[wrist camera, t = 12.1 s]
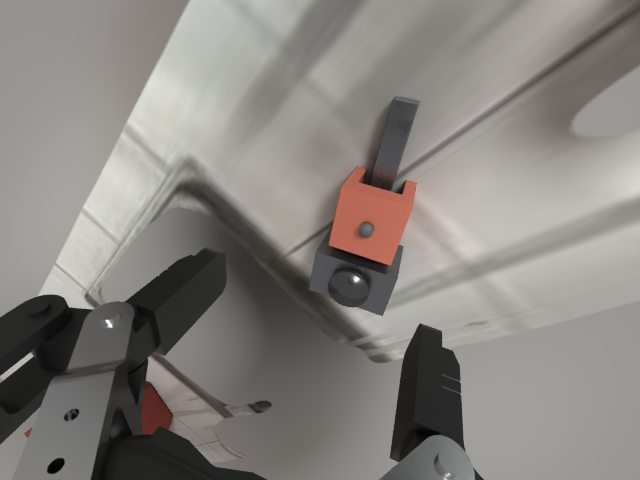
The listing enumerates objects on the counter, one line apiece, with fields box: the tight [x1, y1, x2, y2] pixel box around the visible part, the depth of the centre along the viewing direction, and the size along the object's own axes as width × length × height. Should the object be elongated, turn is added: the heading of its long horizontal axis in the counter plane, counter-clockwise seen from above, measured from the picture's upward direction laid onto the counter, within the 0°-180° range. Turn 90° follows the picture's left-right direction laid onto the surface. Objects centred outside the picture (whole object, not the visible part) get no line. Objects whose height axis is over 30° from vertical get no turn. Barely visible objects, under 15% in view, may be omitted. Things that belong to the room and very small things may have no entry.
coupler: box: [309, 96, 419, 316], centre depth 28 cm, size 19×8×7 cm, turn 170°
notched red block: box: [329, 167, 417, 266], centre depth 29 cm, size 6×6×7 cm
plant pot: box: [25, 382, 172, 437], centre depth 68 cm, size 19×19×17 cm
